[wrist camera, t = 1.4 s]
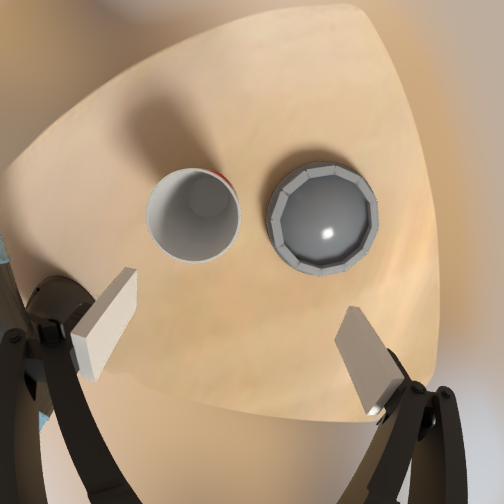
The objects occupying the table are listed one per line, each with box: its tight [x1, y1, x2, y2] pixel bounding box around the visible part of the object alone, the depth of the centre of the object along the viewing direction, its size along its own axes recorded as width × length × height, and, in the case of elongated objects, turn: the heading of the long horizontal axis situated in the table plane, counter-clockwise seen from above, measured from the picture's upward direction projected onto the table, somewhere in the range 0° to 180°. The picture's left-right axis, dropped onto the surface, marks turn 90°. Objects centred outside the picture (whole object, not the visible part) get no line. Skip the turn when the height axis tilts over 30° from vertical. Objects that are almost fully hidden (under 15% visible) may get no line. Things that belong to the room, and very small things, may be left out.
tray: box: [267, 162, 379, 277], centre depth 32 cm, size 14×14×2 cm
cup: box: [146, 168, 241, 263], centre depth 27 cm, size 8×8×10 cm
